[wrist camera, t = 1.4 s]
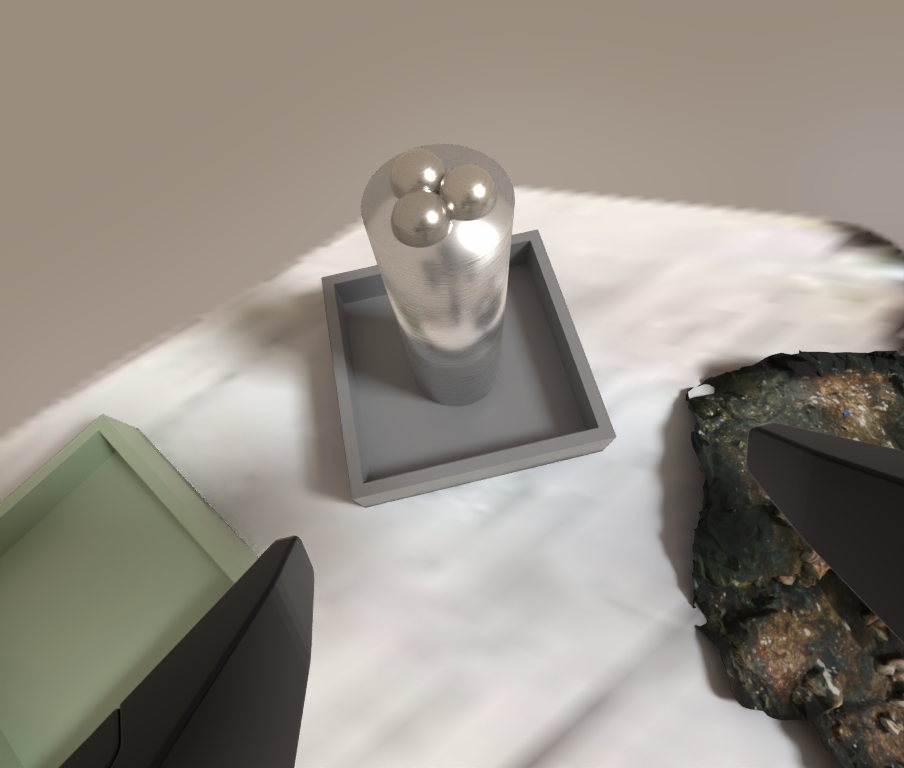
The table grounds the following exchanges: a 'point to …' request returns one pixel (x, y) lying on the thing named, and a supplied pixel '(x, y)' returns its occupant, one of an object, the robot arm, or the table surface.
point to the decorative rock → (797, 556)
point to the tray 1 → (99, 585)
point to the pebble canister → (444, 263)
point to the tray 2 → (466, 427)
